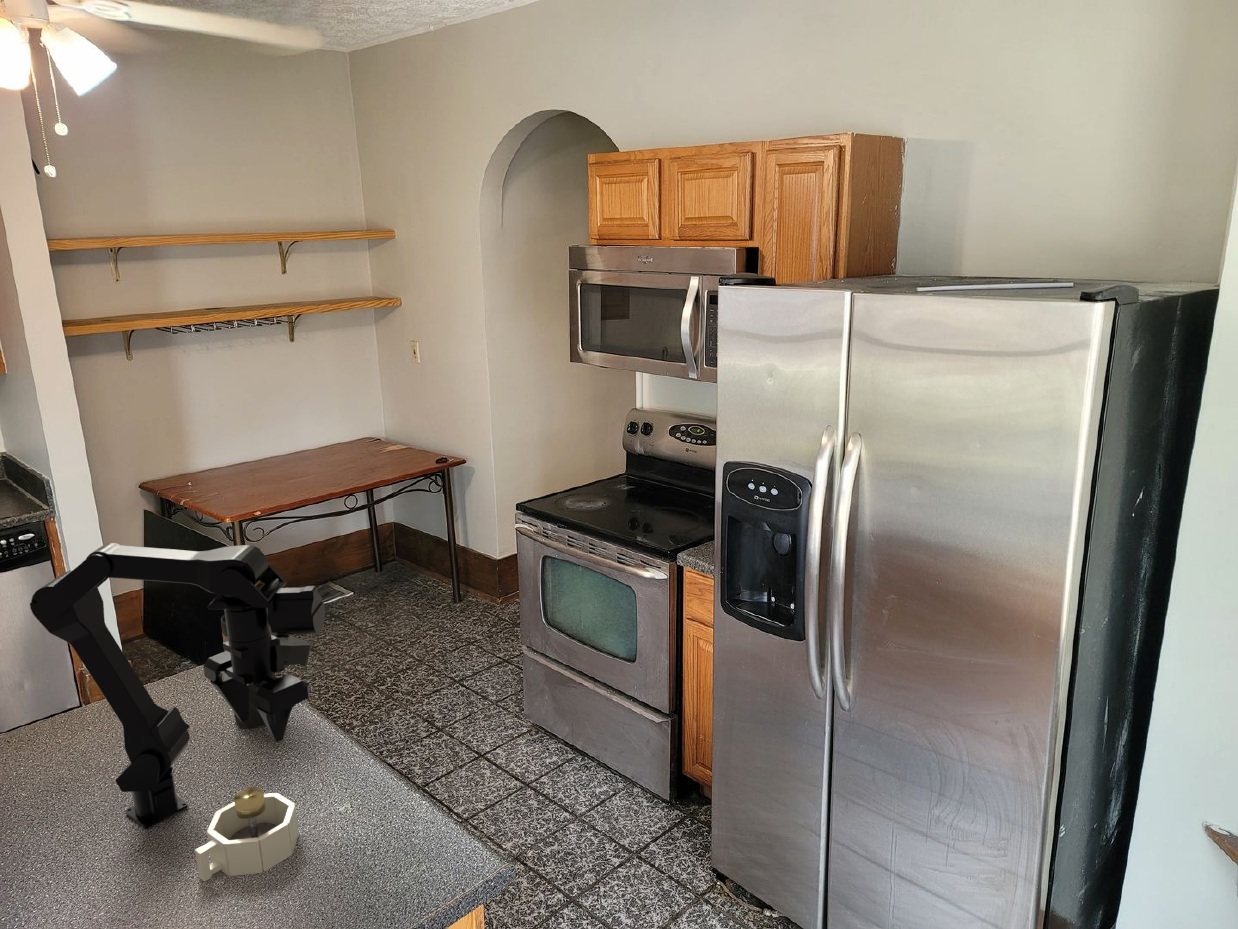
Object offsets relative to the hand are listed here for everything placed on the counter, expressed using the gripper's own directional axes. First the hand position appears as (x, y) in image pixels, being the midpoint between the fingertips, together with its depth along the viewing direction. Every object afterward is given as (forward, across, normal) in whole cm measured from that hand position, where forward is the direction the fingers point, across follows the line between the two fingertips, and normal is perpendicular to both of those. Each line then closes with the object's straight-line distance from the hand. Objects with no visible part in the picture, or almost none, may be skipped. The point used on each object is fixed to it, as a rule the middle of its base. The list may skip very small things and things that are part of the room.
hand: (261, 730), depth 132 cm
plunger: (+12, -7, +7) cm, 15 cm away
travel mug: (+13, +26, -13) cm, 31 cm away
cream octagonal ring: (+13, -7, +8) cm, 17 cm away
